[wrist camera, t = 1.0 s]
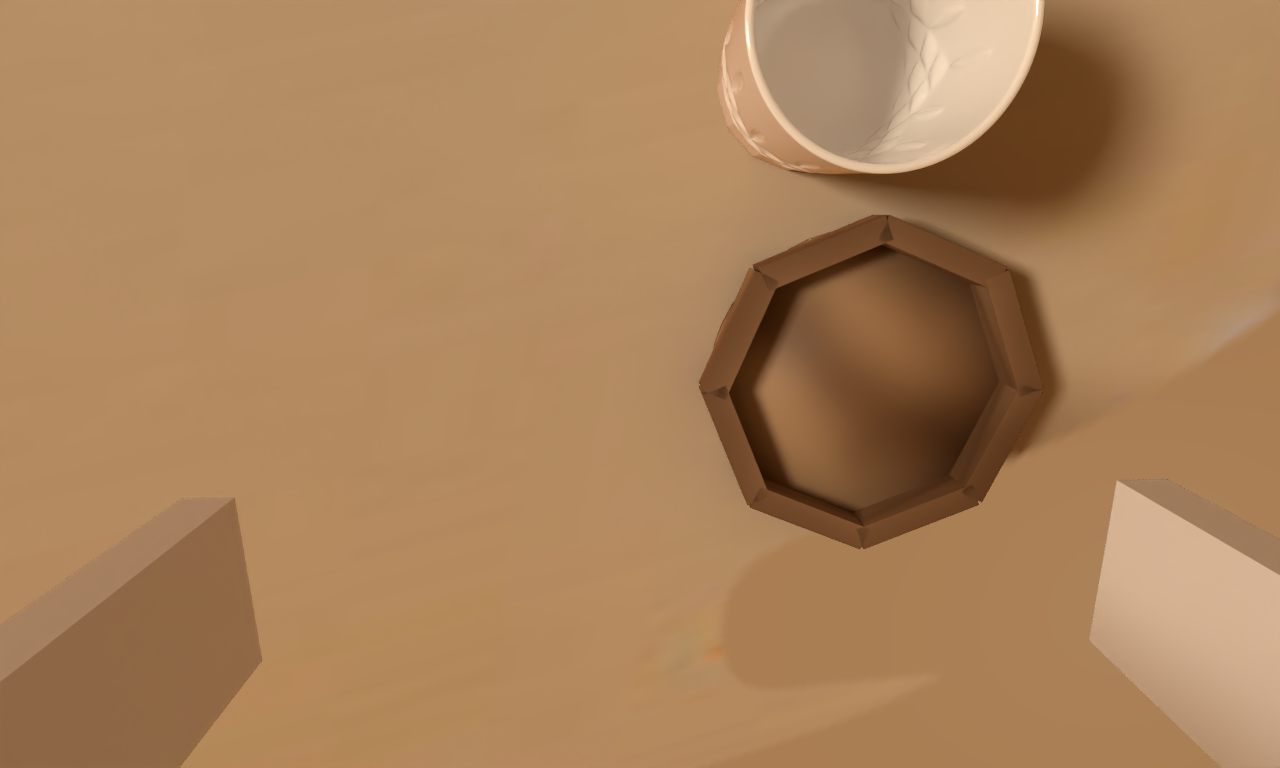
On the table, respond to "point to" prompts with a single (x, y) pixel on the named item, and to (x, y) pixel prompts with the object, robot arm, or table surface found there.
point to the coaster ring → (871, 381)
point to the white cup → (872, 79)
